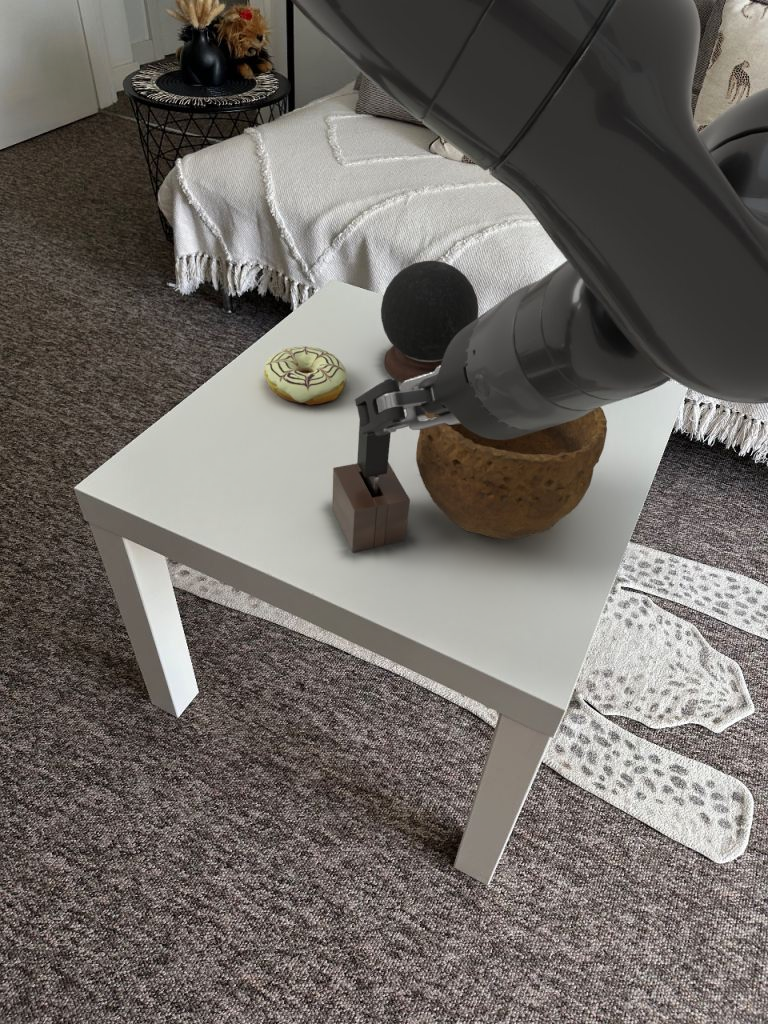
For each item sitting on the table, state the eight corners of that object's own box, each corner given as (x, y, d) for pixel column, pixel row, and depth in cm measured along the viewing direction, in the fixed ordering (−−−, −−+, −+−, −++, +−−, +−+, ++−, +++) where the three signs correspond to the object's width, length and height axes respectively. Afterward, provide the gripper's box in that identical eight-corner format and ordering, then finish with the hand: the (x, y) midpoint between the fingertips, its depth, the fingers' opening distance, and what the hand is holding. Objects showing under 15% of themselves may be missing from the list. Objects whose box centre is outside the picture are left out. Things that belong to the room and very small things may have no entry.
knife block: (352, 552, 74) (354, 511, 70) (332, 508, 79) (333, 467, 75) (405, 540, 76) (410, 499, 72) (382, 498, 81) (386, 457, 76)
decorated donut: (304, 420, 90) (304, 395, 88) (249, 384, 95) (247, 360, 93) (360, 388, 96) (361, 364, 94) (306, 357, 101) (306, 333, 99)
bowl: (444, 440, 89) (461, 335, 79) (590, 490, 84) (628, 384, 74) (379, 533, 76) (389, 422, 66) (547, 598, 71) (586, 488, 61)
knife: (362, 536, 76) (369, 418, 65) (353, 517, 78) (359, 400, 67) (382, 531, 77) (393, 414, 66) (373, 513, 79) (382, 397, 68)
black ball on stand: (464, 344, 107) (480, 247, 96) (473, 394, 97) (491, 291, 87) (376, 339, 106) (383, 241, 96) (377, 389, 96) (384, 285, 86)
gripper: (624, 284, 42) (500, 354, 57) (399, 310, 37) (331, 378, 53) (649, 409, 42) (518, 445, 57) (427, 450, 37) (351, 477, 53)
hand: (428, 413), depth 55 cm, fingers open, 8 cm apart
